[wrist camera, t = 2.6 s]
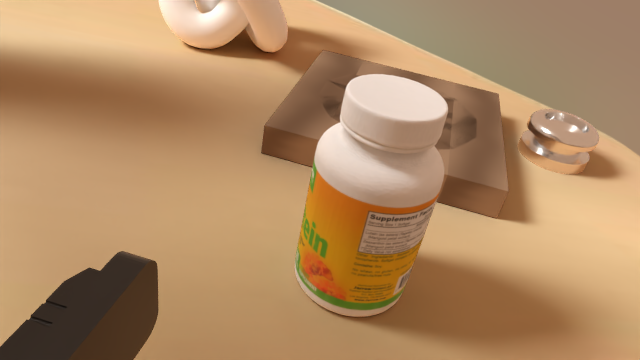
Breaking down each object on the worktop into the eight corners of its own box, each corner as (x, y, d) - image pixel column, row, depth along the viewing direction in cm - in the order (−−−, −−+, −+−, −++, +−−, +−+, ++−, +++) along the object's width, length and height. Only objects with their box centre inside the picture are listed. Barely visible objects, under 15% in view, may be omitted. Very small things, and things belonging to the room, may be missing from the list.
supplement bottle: (282, 242, 26) (311, 62, 21) (379, 236, 28) (429, 68, 23) (308, 327, 22) (353, 130, 17) (420, 314, 24) (494, 131, 19)
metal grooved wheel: (524, 166, 37) (592, 181, 37) (540, 131, 36) (612, 146, 36) (511, 134, 42) (573, 147, 42) (525, 100, 40) (590, 114, 40)
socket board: (261, 152, 33) (264, 125, 32) (319, 71, 45) (323, 49, 44) (496, 218, 31) (508, 191, 30) (490, 115, 44) (498, 93, 43)
